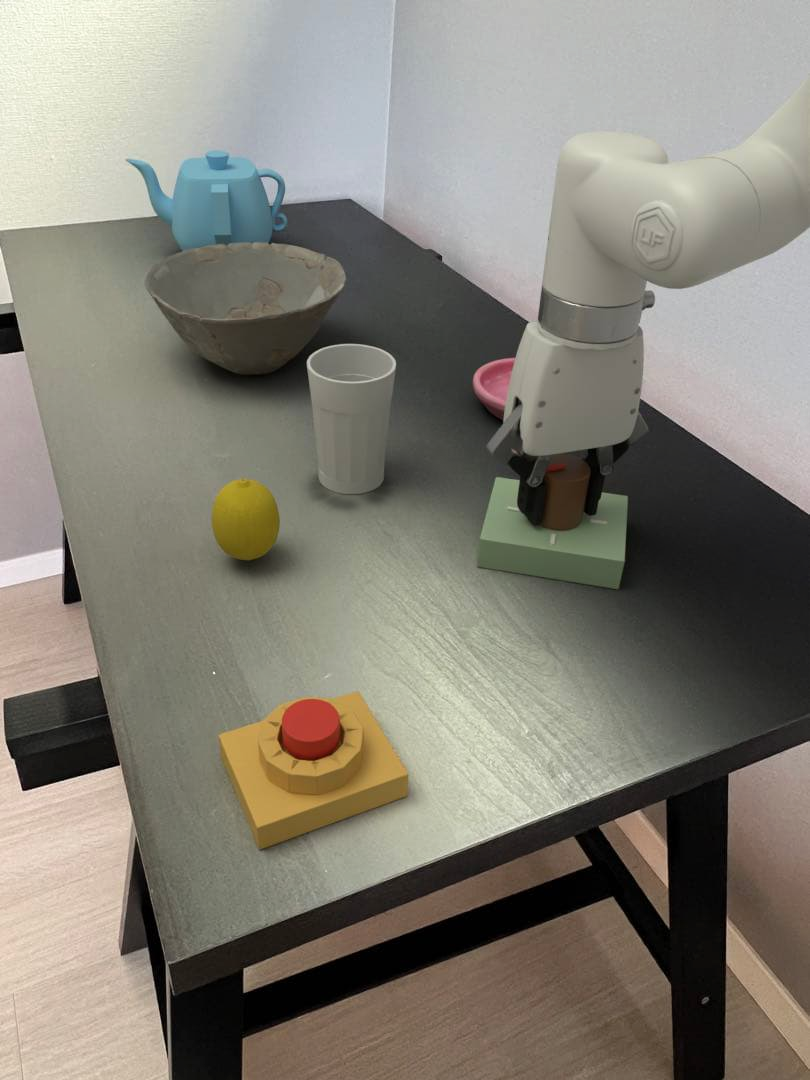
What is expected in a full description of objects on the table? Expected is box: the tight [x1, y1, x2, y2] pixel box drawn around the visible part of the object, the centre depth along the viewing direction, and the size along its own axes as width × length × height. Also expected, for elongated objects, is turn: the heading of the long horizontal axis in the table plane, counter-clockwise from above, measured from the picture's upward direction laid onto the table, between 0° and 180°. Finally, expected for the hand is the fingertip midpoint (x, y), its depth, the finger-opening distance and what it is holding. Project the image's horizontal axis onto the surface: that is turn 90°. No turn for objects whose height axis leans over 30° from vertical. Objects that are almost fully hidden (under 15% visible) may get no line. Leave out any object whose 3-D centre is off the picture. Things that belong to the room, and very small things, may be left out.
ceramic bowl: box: [144, 242, 347, 376], centre depth 109 cm, size 22×23×10 cm
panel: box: [476, 476, 629, 590], centre depth 83 cm, size 12×10×3 cm
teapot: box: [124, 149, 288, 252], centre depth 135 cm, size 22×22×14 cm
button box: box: [217, 690, 409, 851], centre depth 61 cm, size 10×8×4 cm
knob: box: [540, 453, 591, 530], centre depth 80 cm, size 4×4×5 cm
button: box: [282, 699, 340, 760], centre depth 59 cm, size 4×4×2 cm
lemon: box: [211, 477, 281, 562], centre depth 78 cm, size 6×6×8 cm
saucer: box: [472, 357, 516, 421], centre depth 103 cm, size 12×12×3 cm
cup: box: [306, 343, 397, 495], centre depth 88 cm, size 8×8×12 cm
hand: (557, 510), depth 82 cm, fingers closed on knob, 4 cm apart
